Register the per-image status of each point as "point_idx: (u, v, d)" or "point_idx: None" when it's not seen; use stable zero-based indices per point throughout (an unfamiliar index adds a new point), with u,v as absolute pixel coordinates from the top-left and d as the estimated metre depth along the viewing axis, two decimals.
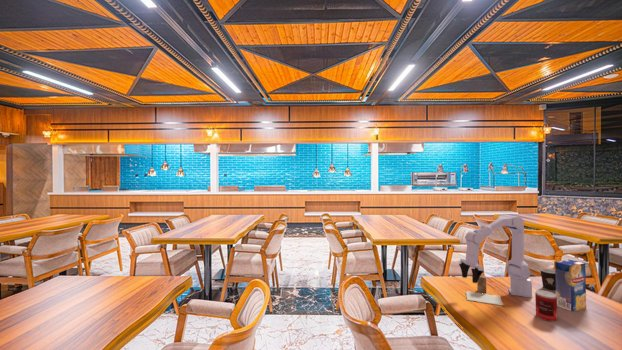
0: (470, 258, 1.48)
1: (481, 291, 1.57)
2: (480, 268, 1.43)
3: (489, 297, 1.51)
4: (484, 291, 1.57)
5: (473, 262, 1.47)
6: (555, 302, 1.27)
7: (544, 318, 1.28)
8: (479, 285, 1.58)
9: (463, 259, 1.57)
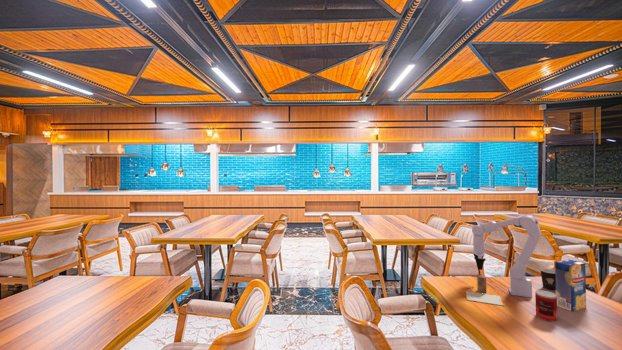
0: (474, 248, 1.69)
1: (481, 291, 1.57)
2: (479, 256, 1.64)
3: (489, 297, 1.51)
4: (484, 291, 1.57)
5: (477, 251, 1.68)
6: (555, 302, 1.27)
7: (544, 318, 1.28)
8: (479, 285, 1.58)
9: None
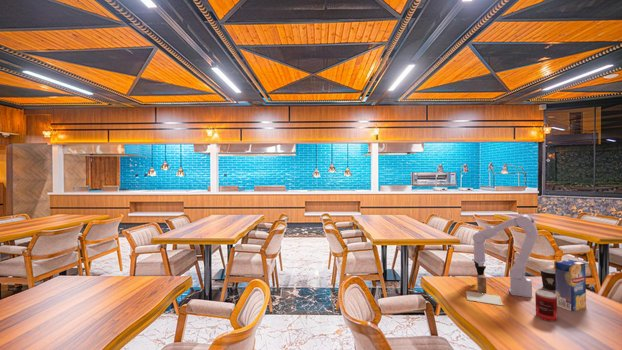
0: (475, 255, 1.69)
1: (481, 291, 1.57)
2: (479, 264, 1.63)
3: (489, 297, 1.51)
4: (484, 291, 1.57)
5: (477, 259, 1.68)
6: (555, 302, 1.27)
7: (544, 318, 1.28)
8: (479, 285, 1.58)
9: None
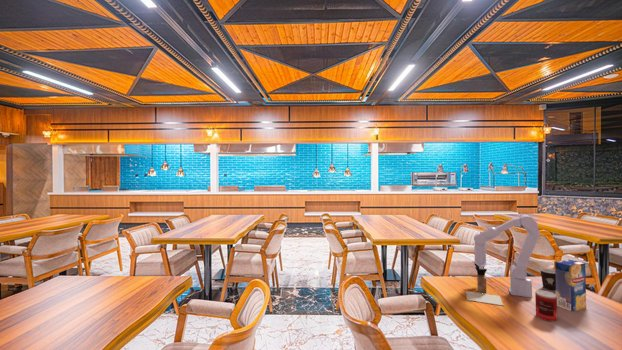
0: (475, 257, 1.64)
1: (481, 291, 1.57)
2: (480, 267, 1.59)
3: (489, 297, 1.51)
4: (484, 291, 1.57)
5: (478, 261, 1.63)
6: (555, 302, 1.27)
7: (544, 318, 1.28)
8: (479, 285, 1.58)
9: None
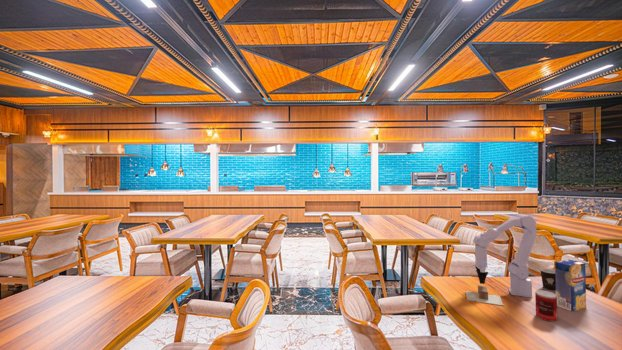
0: (476, 260, 1.59)
1: None
2: (481, 270, 1.53)
3: (489, 297, 1.51)
4: None
5: (479, 264, 1.58)
6: (555, 302, 1.27)
7: (544, 318, 1.28)
8: None
9: None
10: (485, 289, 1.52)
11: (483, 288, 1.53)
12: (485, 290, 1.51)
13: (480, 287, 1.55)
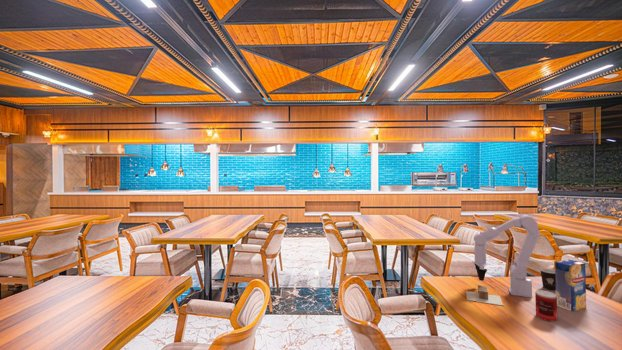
0: (475, 258, 1.64)
1: None
2: (480, 267, 1.58)
3: (489, 297, 1.51)
4: None
5: (478, 262, 1.63)
6: (555, 302, 1.27)
7: (544, 318, 1.28)
8: None
9: None
10: (485, 289, 1.52)
11: (483, 288, 1.53)
12: (485, 290, 1.51)
13: (480, 287, 1.55)
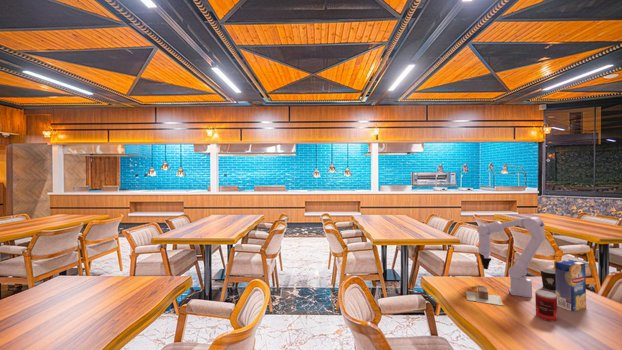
0: (480, 247, 1.70)
1: None
2: (485, 256, 1.64)
3: (489, 297, 1.51)
4: None
5: (483, 251, 1.68)
6: (555, 302, 1.27)
7: (544, 318, 1.28)
8: None
9: None
10: (485, 289, 1.52)
11: (483, 288, 1.53)
12: (485, 290, 1.51)
13: (480, 287, 1.55)
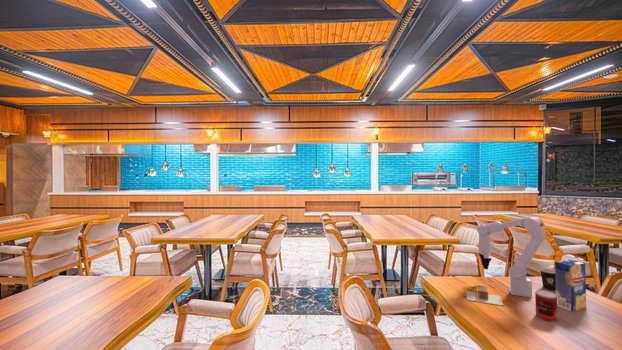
0: (480, 247, 1.70)
1: None
2: (485, 256, 1.64)
3: (489, 297, 1.51)
4: None
5: (483, 251, 1.68)
6: (555, 302, 1.27)
7: (544, 318, 1.28)
8: None
9: None
10: (485, 289, 1.52)
11: (483, 288, 1.53)
12: (485, 290, 1.51)
13: (480, 287, 1.55)
